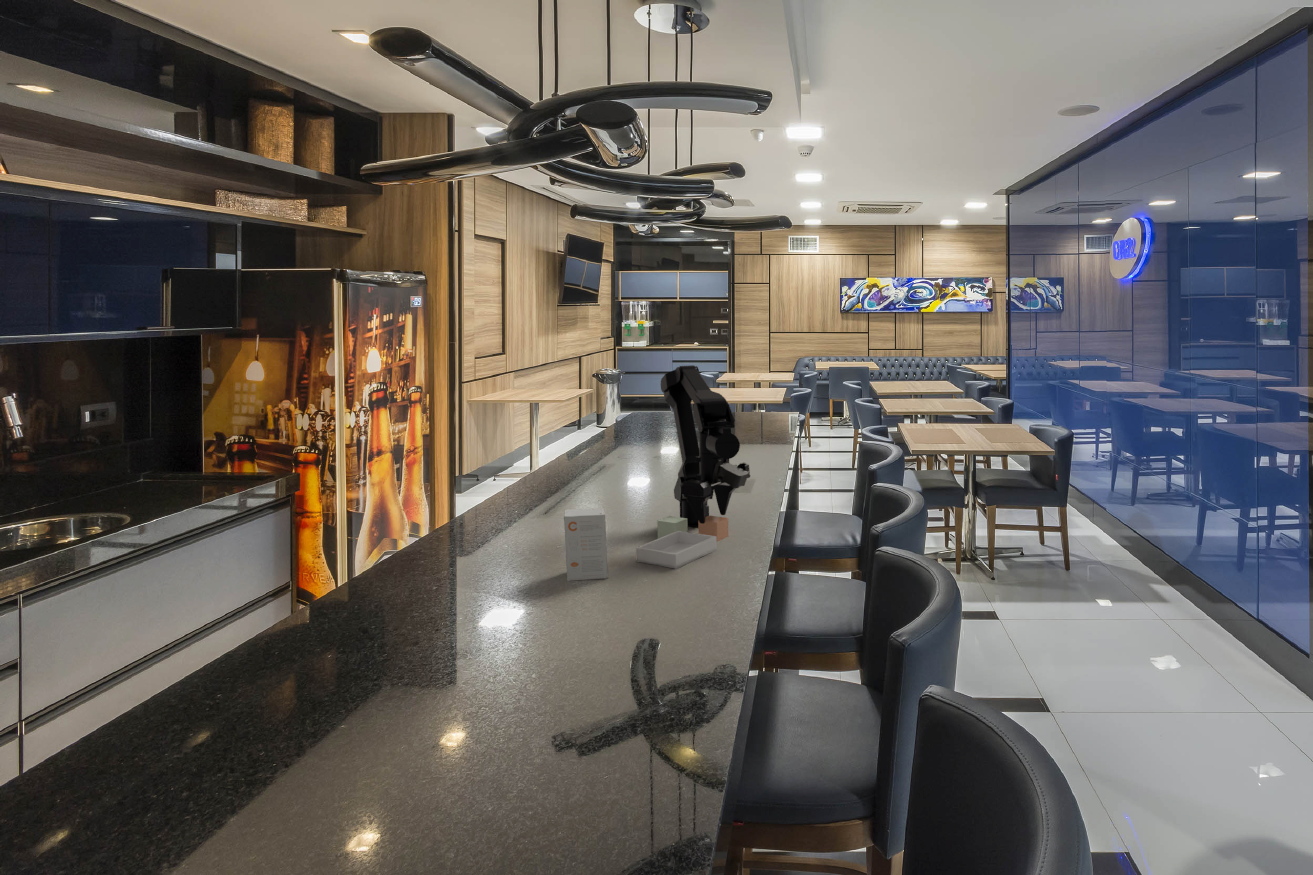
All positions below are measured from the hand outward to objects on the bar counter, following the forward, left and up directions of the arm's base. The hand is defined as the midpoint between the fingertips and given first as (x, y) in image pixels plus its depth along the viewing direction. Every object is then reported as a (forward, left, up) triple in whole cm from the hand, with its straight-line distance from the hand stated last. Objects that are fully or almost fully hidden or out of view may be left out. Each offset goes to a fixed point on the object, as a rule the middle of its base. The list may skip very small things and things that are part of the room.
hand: (712, 519), depth 188 cm
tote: (+1, -17, -4) cm, 17 cm away
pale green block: (-8, -5, -5) cm, 10 cm away
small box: (-7, -37, -5) cm, 38 cm away
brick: (0, 0, -4) cm, 4 cm away
